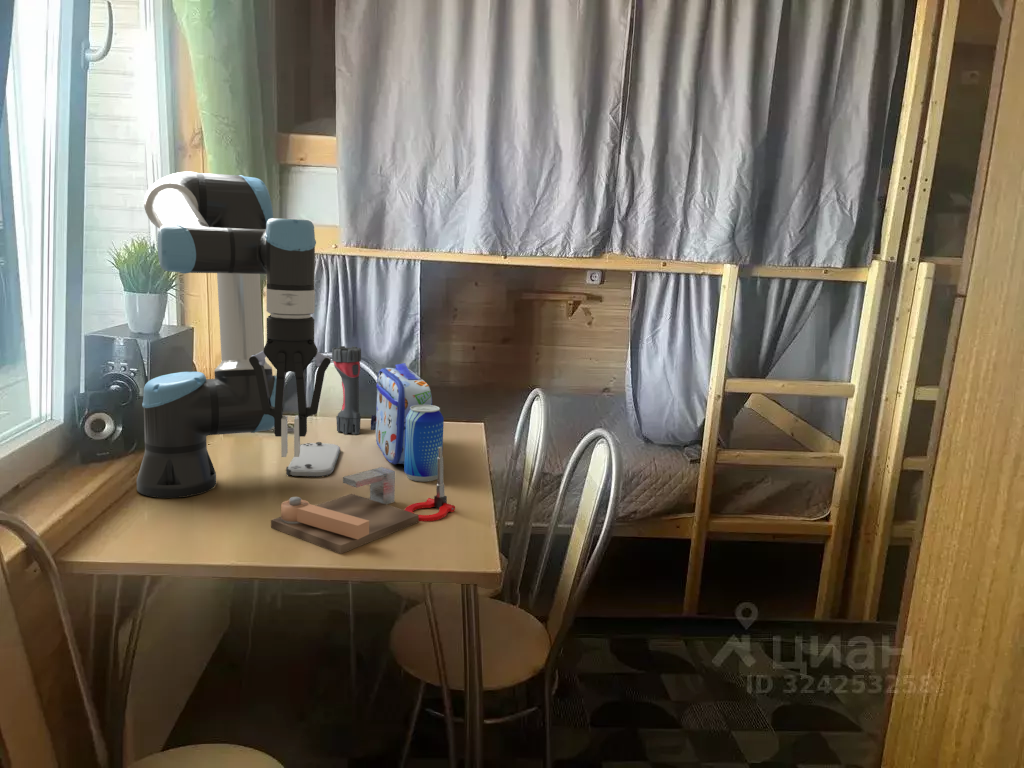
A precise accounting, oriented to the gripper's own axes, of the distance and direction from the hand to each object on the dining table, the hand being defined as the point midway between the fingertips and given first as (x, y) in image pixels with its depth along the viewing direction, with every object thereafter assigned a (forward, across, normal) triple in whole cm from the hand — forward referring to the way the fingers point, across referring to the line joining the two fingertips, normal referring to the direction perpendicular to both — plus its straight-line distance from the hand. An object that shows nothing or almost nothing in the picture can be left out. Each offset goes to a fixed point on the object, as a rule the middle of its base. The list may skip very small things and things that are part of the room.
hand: (290, 454), depth 133 cm
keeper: (+16, +13, +20) cm, 29 cm away
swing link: (+14, +5, +5) cm, 16 cm away
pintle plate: (+16, +9, +10) cm, 21 cm away
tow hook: (+17, +25, +15) cm, 34 cm away
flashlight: (+17, +8, +79) cm, 81 cm away
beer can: (+17, +26, +38) cm, 49 cm away
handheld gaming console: (+17, +1, +50) cm, 53 cm away
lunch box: (+17, +21, +56) cm, 62 cm away
